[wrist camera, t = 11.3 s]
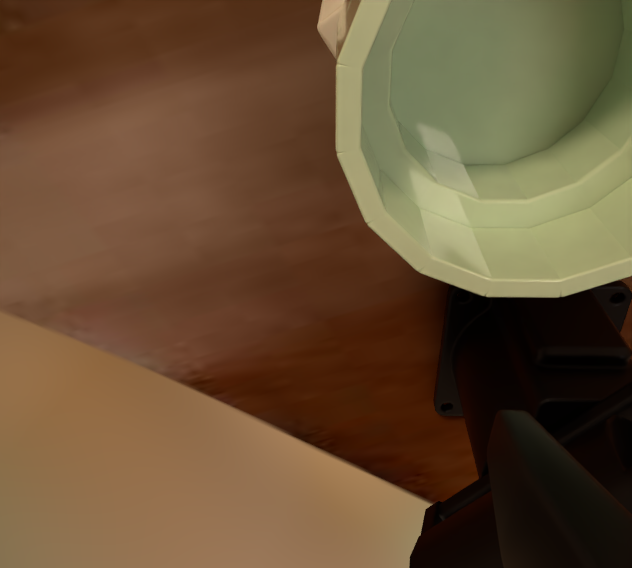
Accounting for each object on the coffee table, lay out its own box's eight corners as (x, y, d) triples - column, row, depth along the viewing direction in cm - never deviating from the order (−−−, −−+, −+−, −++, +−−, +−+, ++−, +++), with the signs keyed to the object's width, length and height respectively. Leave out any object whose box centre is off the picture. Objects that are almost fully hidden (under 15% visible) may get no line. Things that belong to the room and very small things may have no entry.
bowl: (614, 196, 14) (715, 299, 10) (336, 195, 14) (335, 297, 11) (713, -151, 10) (925, -188, 7) (337, -144, 11) (336, -175, 7)
